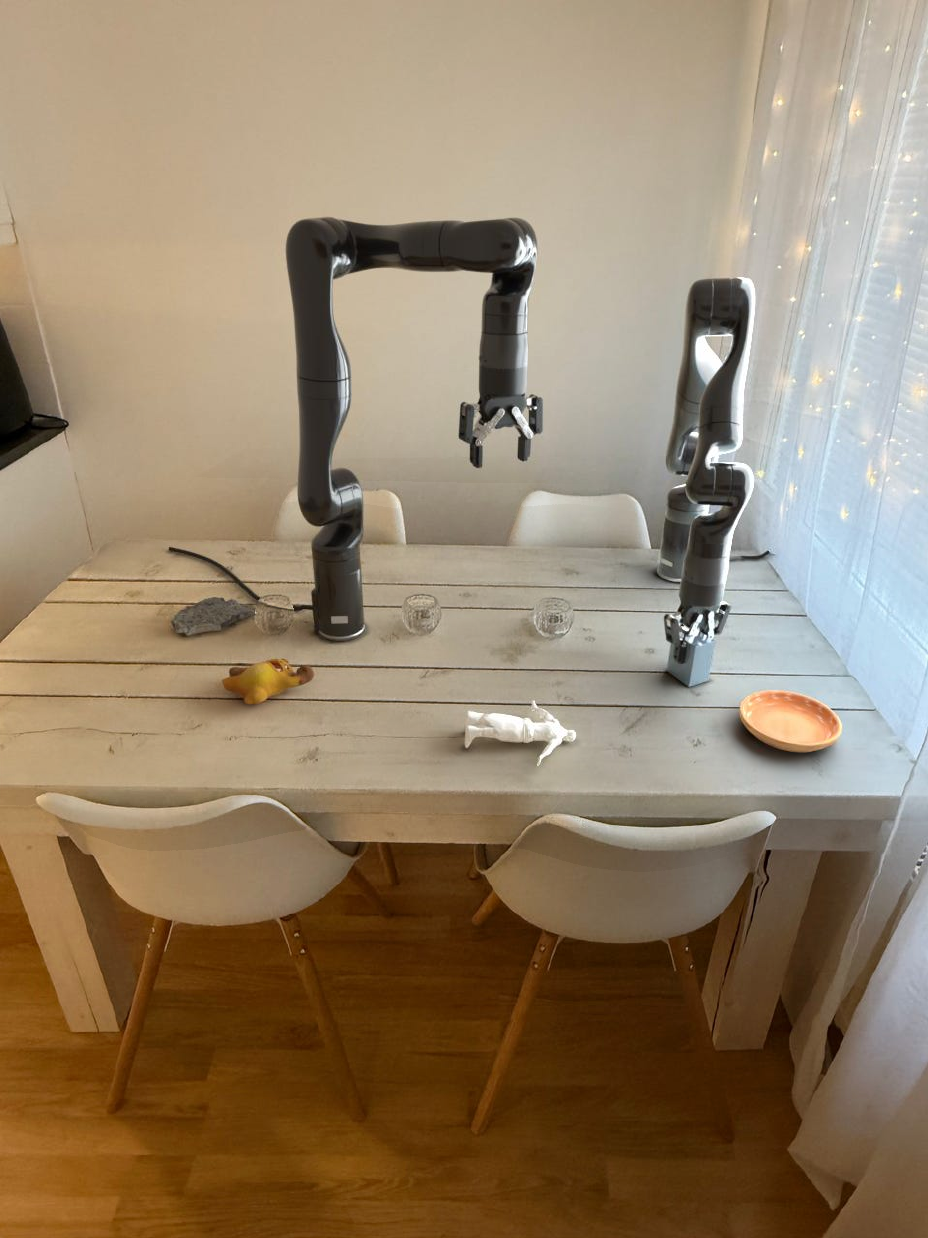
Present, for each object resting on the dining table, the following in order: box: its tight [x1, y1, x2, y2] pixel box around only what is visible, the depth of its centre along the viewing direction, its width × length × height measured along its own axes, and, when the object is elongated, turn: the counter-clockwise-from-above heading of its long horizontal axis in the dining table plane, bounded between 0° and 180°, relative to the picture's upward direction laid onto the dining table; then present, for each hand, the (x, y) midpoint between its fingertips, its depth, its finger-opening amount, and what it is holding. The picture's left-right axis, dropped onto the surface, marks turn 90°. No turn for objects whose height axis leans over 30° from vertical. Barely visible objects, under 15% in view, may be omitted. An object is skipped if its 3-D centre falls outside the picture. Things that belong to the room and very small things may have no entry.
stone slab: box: [170, 596, 256, 637], centre depth 168 cm, size 12×17×3 cm
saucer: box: [739, 689, 843, 753], centre depth 136 cm, size 16×16×3 cm
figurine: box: [464, 699, 577, 767], centre depth 133 cm, size 17×5×18 cm
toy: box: [221, 658, 315, 705], centre depth 144 cm, size 11×6×15 cm
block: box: [666, 627, 717, 688], centre depth 149 cm, size 5×6×8 cm
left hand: (500, 463), depth 134 cm, fingers open, 8 cm apart
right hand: (690, 658), depth 150 cm, fingers closed on block, 4 cm apart
